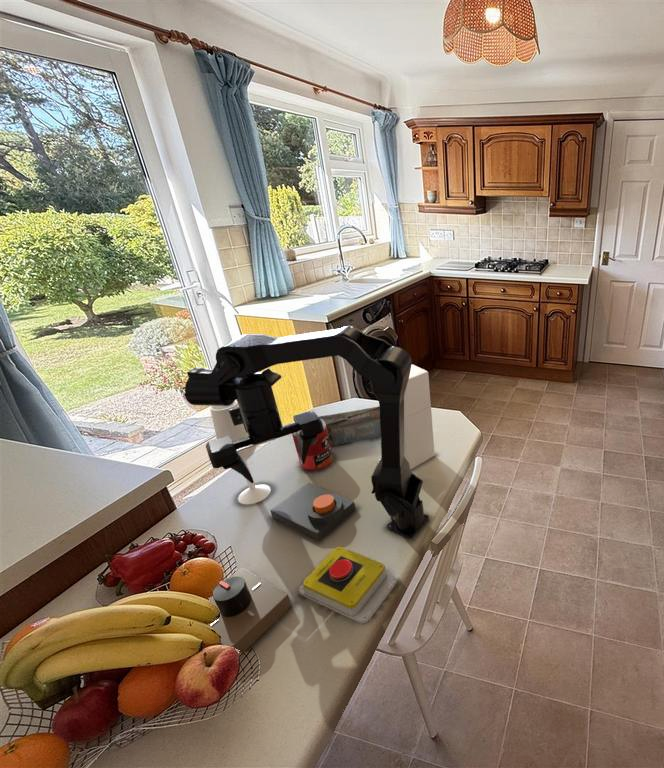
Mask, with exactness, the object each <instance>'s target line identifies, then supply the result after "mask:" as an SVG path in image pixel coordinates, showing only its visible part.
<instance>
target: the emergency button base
mask: <svg viewBox="0 0 664 768" xmlns="http://www.w3.org/2000/svg"><path fill="white" fill-rule="evenodd" d="M325 494H329V495H332V496H333V497H334V502H335V507H334V509H333V510H331V511H330V512H327V513H324V514H318V513H316V512H315V509H314V506H313V502H314V500H315V499H316V498H317V497H319V496H321V495H325ZM355 510H356V503H355V501H353V500H351V499H350V498H349V499H348V498H346V497H344V496H341V495H339V494H338V493H335V492H332V491H330V490H328V489H325V488H323V487H322V486H318V485H316V484H315V483H314V484H313V483H311V482H307V483H306V484H305V485H303V486H301V487H300V488H298V490H296V491H294V492H293V493H292V494H291V495H289V496H287V497H286V498H285V499H284V500H282V501H281V502H280V503H278V504H277V505H275V506H274V507H273V508H271V509H270V510H269V511H270V514H271V517H272V518H273V519H274V520H276V521H278V522H281V523H282V524H284V525H286V526H288V527H290V528H292V529H295V530H296V531H298V532H301V533H303V534H304V535H306V536H309V537H310V538H312V539H314V540H316V541H319V542H320V541H321V540H322V539H323V538H324V537H326V536H327V535H328V534H329V533H330V532H332V531H333V530H334V529H335V528H336V527H337V526H338V525H339V524H340V523H342V522H343V521H344V520H345V519H346V518H347V517H349V515H351V514H352V513H353V512H354V511H355Z"/></svg>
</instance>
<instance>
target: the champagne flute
mask: <svg viewBox="0 0 664 768" xmlns="http://www.w3.org/2000/svg"><path fill="white" fill-rule="evenodd" d="M237 407H239V406H238V403H237V400H235V401H234V402H233V404H231V405H229V406H209V410H210V415H211V419H212V423H213V428H214V433H215V437H216V439H219V438H222V437H225V436H228V435H230V437H231V439H232V442H233V441H237V440H240V439H243V438H246V437H249V436H248V433H246V431H245V428H244V425H243V424H240V425H237V426H234V425H233V422H232V419H231V417H230V414H229V411H228V410H230V409H234V408H237ZM257 447H258V445H257V446H253V447H250V448H247V449H244V450H241V451H238V452H239V454H240V456H241V457H242V459H243V461H244V463H245V464H246V466H247V468H248V470H249V471H250V472H251V469H250V467H249V463H248V461H249V459H251V457H252V456H253V455H254V454H255V451H256V450H257ZM251 476H252V474H251ZM252 477H253V476H252ZM245 480H246V483H247V485H248V488H245V489H244V490H243V491H241V492H240V494H239V495H238V497H237V501H238V503H240V504H241V505H253V504H256V503H260V502H261V501H263V500H265V499H266V498H267V497H269V495H270V494H271V491H272V489H271V487H270V486H269V485H267V484H255V482H254V483H251V482H250V481H248V480H247V479H246V478H245Z"/></svg>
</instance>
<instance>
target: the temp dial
mask: <svg viewBox="0 0 664 768" xmlns="http://www.w3.org/2000/svg"><path fill="white" fill-rule="evenodd" d="M229 577H230V576H229ZM229 577H228V578H226V579H224V580H220V581H219V582H218V584H217V585H216V586H215V588H214V589H213V590H214V591H213V590H212V591H213V598H214V600H215V603H216V605H217V607H218V609H219V611H220V613H221V615H223V616H225V617H232V616H235V615H238V614H239V613H241V612H243V611H244V610H245V609H246V608H247V607H248V606H249V604H250V602H251V594H250V592H249V590H248V587H247V585H246V582H245V580H244V579H243V578H242V577H239V576H235V577H230V578H229Z"/></svg>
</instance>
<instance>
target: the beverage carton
mask: <svg viewBox="0 0 664 768" xmlns="http://www.w3.org/2000/svg"><path fill="white" fill-rule="evenodd" d="M318 417H319V418H320V419H322V420H323V421H325V424H326V427H327V431H328V436H329V441H330V445H331V447H332V446H337V445H344V444H348V443H353V442H359V441H363V440H369V439H373V438H379V437H381V433H380V408H379V406H374V407H368V408H362V409H357V410H352V411H346V412H339V413H334V414H325V415H319V416H318Z"/></svg>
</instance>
